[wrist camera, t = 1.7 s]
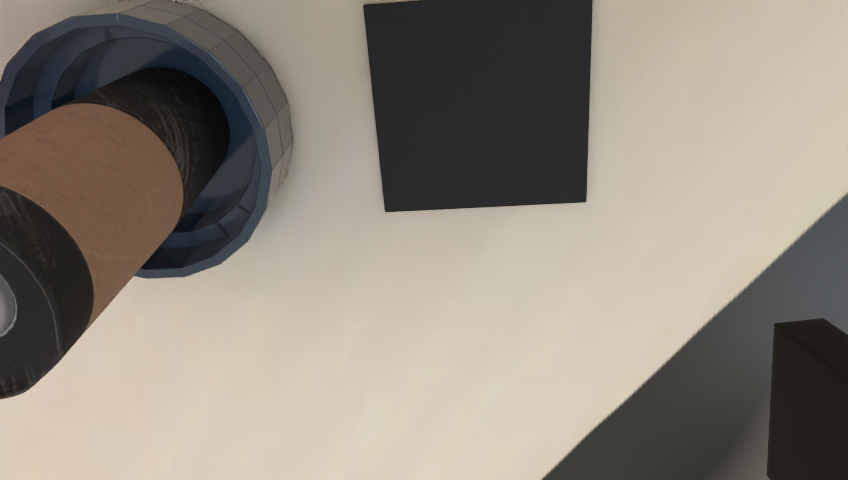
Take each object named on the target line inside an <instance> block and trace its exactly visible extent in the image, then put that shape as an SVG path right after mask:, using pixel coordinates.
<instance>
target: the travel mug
mask: <svg viewBox="0 0 848 480" xmlns="http://www.w3.org/2000/svg"><path fill="white" fill-rule="evenodd" d="M229 140H230V132H229V124H228V120H227V117H226V114H225V111H224V109H223V107H222V105H221V104H220V102H219V100H218V99H217V97H216V96H215V95H214V94H213V93H212V91H211V90H210V89H209V88H208V87H207V86H206V85H204V84H203V83H202V82H200V81H199V80H198V79H196V78H194V77H193V76H191V75H189V74H187V73H185V72H182V71H179V70H176V69H171V68H164V67H152V68H146V69H142V70H139V71H136V72H133V73H131V74H128V75H126V76H124V77H122V78H119V79H117V80H115V81H113V82H111V83H109V84H107V85H104V86H102V87H100V88H98V89H96V90H94V91H92V92H89V93H87V94H85V95H83V96H81V97H79V98H77V99H74V100H72V101H70V102H68V103H66V104H64V105H62V106H59V107H57V108H56V109H53V110H51V111H50V112H48V113H46V114H44V115H42V116H41V117H39V118H37V119H35V120H34V121H32V122H30V123H28V124H26V125H25V126H23V127H21V128H19V129H18V130H16V131H14V132H12V133H10V134H9V135H7V136H5V137H3V138H2V139H0V399H4V398H9V397H13V396H16V395H19V394H22V393H24V392H26V391H27V390H29V389H30V388H31V387H32V386H34V385H35V384H36V383H37V382H38V381H39V380H40V379H41V378H42V377H43V376H45V375H46V374H47V373H48V372H49V371H50V370H51V369H52V368H53V367H54V366H55V365H56V364H57V363H58V362H59V361H60V360H61V359H62V357H63V356H64V355H65V354H66V353H67V352H68V351H69V349H70V348H71V347H72V346H73V345H74V344H75V343H76V341H77V340H78V339H79V338H80V337H81V336H82V334H83V333H84V332H85V331H86V330H87V329H88V328H89V326H90V325H91V324H92V323H93V322H94V321H95V320H96V318H97V317H98V316H99V315H100V314H101V313H102V312H103V310H104V309H105V308H106V307H107V306H108V305H109V303H110V302H111V301H112V300H113V299H114V298H115V297H116V295H117V294H118V293H119V292H120V291H121V290H122V289H123V287H124V286H125V285H126V284H127V283H128V282H129V281H130V279H131V278H132V277H133V276H134V275H135V274H136V272H137V271H138V270H139V269H140V268H141V267H142V266H143V264H144V263H145V262H146V261H147V260H148V259H149V258H150V256H151V255H152V254H153V253H154V252H155V251H156V250H157V248H158V247H159V246H160V245H161V244H162V243H163V242H164V240H165V239H166V238H167V237H168V236H169V234H170V233H171V232H172V231H173V229H174V228H175V227H176V225H177V224H178V223H179V221H180V220H181V219H182V217H183V216H184V215H185V213H186V212H187V211H188V209H189V208H190V207H191V205H192V204H193V203H194V201H195V200H196V199H197V197H198V196H199V195H200V193H201V192H202V191H203V189H204V188H205V187H206V185H207V184H208V183H209V181H210V180H211V179H212V177H213V176H214V175H215V173H216V172H217V170H218V169H219V168H220V166H221V164H222V163H223V161H224V159H225V157H226V154H227V152H228V147H229Z"/></svg>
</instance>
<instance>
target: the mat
mask: <svg viewBox="0 0 848 480" xmlns="http://www.w3.org/2000/svg"><path fill="white" fill-rule="evenodd" d="M363 7H364V16H365V26H366V35H367V44H368V54H369V63H370V73H371V82H372V92H373V101H374V110H375V120H376V129H377V139H378V148H379V157H380V167H381V176H382V186H383V195H384V204H385V212H397V211H417V210H437V209H457V208H478V207H498V206H518V205H538V204H558V203H578V202H586V191H587V159H588V127H589V95H590V63H591V31H592V0H422V1H408V2H394V3H380V4H366V5H364V6H363Z"/></svg>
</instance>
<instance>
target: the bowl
mask: <svg viewBox="0 0 848 480" xmlns="http://www.w3.org/2000/svg"><path fill="white" fill-rule="evenodd" d="M152 67H164V68H171V69H176V70H179V71H182V72H185V73H187V74H189V75H191V76H193V77H194V78H196V79H198V80H199V81H200V82H202V83H203V84H204V85H206V86H207V87H208V88H209V89H210V90H211V91H212V93H213V94H214V95H215V96H216V97H217V99H218V100H219V102H220V104H221V105H222V107H223V109H224V111H225V114H226V117H227V120H228V124H229V132H230V140H229V147H228V152H227V154H226V157H225V159H224V161H223V163H222V164H221V166H220V168H219V169H218V170H217V172H216V173H215V175H214V176H213V177H212V179H211V180H210V181H209V183H208V184H207V185H206V187H205V188H204V189H203V191H202V192H201V193H200V195H199V196H198V197H197V199H196V200H195V201H194V203H193V204H192V205H191V207H190V208H189V209H188V211H187V212H186V213H185V215H184V216H183V217H182V219H181V220H180V221H179V223H178V224H177V225H176V227H175V228H174V229H173V231H172V232H171V233H170V234H169V236H168V237H167V238H166V239H165V240H164V242H163V243H162V244H161V245H160V246H159V247H158V248H157V250H156V251H155V252H154V253H153V254H152V255H151V256H150V258H149V259H148V260H147V261H146V262H145V263H144V264H143V266H142V267H141V268H140V269H139V270H138V271H137V272H136V274H135V275H134V276H137V277H142V278H170V277H186V276H189V275H192V274H194V273H197V272H200V271H203V270H205V269H208V268H211V267H214V266H216V265H219V264H221V263H222V262H224V261H225V260H226V259H227V258H228V257H230V256H231V255H232V254H233V253H235V252H236V251H237V250H238V249H239V248H241V247H242V246H243V245H244V244H245V243H247V242H248V240H249V239H250V237H251V236H252V234H253V232H254V231H255V229H256V227H257V226H258V224H259V222H260V221H261V219H262V217H263V216H264V214H265V212H266V211H267V209H268V207H269V206H270V204H271V202H272V201H273V199H274V197H275V195H276V193H277V192H278V190H279V188H280V186H281V185H282V183H283V181H284V179H285V178H286V175H287V173H288V167H289V161H290V155H291V149H292V143H293V136H292V129H291V123H290V117H289V111H288V105H287V102H286V101H287V100H286V98H285V96H284V94H283V92H282V90H281V88H280V86H279V84H278V82H277V80H276V78H275V76H274V74H273V72H272V70H271V68H270V66H269V64H268V63H267V62H266V61H265V60H264V59H263V58H262V57H261V56H260V54H259V53H258V52H257V51H256V50H255V49H254V48H253V47H252V46H251V45H250V44H249V42H248V41H247V40H246V39H245V38H244V37H243V36H242V35H241V34H240V33H238V31H236V30H235V29H233V28H231V27H230V26H228V25H227V24H225V23H223V22H222V21H220V20H218V19H217V18H215V17H213V16H212V15H210V14H208V13H207V12H205V11H204V10H201V9H199V8H195V7H191V6H187V5H184V4H180V3H176V2H172V1H168V0H128V1H118V2H115V3H112V4H109V5H106V6H102V7H99V8H96V9H93V10H90V11H87V12H84V13H81V14H78V15H75V16H72V17H69V18H67V19H65V20H63V21H61V22H59V23H57V24H54V25H52V26H50V27H48V28H46V29H44V30H42V31H39V32H37V33H35V34H34V35H32V37H31V38H30V39H29V40H28V41H27V42H26V43H25V44H24V45H23V47H22V48H21V49H20V50H19V51H18V52H17V53H16V54H15V55H14V57H13V58H12V59H11V60H10V61H9V62H8V63H7V65H6V67H5V70H4V73H3V76H2V78H1V81H0V139H2V138H3V137H5V136H7V135H9V134H10V133H12V132H14V131H16V130H18V129H19V128H21V127H23V126H25V125H26V124H28V123H30V122H32V121H34V120H35V119H37V118H39V117H41V116H42V115H44V114H46V113H48V112H50V111H51V110H53V109H56V108H57V107H59V106H62V105H64V104H66V103H68V102H70V101H72V100H74V99H77V98H79V97H81V96H83V95H85V94H87V93H89V92H92V91H94V90H96V89H98V88H100V87H102V86H104V85H107V84H109V83H111V82H113V81H115V80H117V79H119V78H122V77H124V76H126V75H128V74H131V73H133V72H136V71H139V70H142V69H146V68H152Z"/></svg>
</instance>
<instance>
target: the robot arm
mask: <svg viewBox="0 0 848 480" xmlns="http://www.w3.org/2000/svg"><path fill="white" fill-rule="evenodd" d="M767 476H768V477H769V479H770V480H848V335H847V334H846V333H844V332H843V331H841V330H840V329H838V328H837V327H835V326H834V325H832V324H831V323H830V322H828V321H827V320H825V319H824V318H822V319H812V320H803V321H794V322H784V323H775V325H774V343H773V362H772V382H771V401H770V421H769V441H768V462H767Z"/></svg>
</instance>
